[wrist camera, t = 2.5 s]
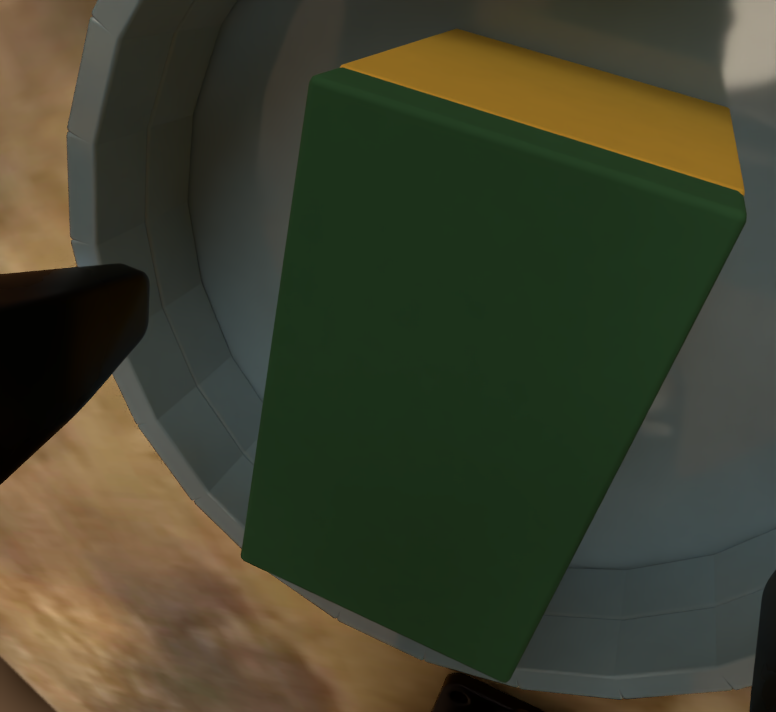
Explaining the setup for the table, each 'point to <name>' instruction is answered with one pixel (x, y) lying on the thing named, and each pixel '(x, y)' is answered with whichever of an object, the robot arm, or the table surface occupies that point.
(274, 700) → the table surface
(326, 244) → the sponge
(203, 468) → the bowl
